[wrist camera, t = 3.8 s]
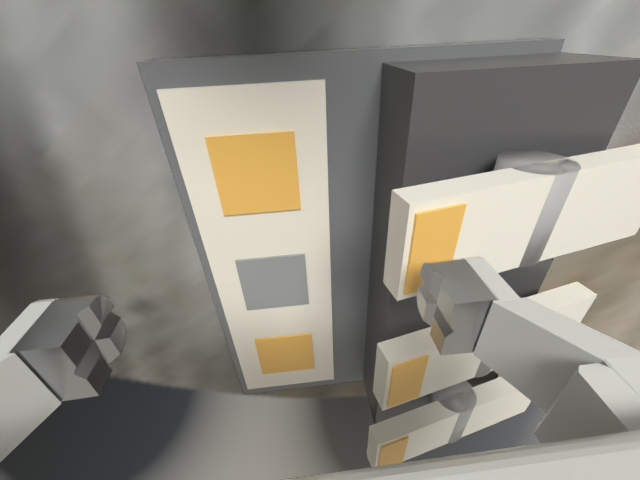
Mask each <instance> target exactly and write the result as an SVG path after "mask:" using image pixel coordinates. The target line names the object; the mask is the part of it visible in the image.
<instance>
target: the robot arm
mask: <svg viewBox="0 0 640 480" xmlns="http://www.w3.org/2000/svg"><path fill="white" fill-rule="evenodd" d="M420 275H421V277H422V279H423V282H422V283H421V284H420V285H419V286H418V289H417V306H418V309H419V312H420V315H421V317H422V319H423V321H424V322H426V323H427V324H429V325H430V326H432V327H431V331H430V336H431V338H432V339H433V341H434V343H435V345H436V347H437V349H438V351H439V353H440V355H451V354H462V353H473V352H474V353H473V354H474V355H475V356H476V357H477V358H478V359H480V360H481V361H482V362H483V363H485V364H486V365H487V366H488V367H490V368H491V369H492V370H493V371H495V372H496V373H497V374H498V375H500V376H501V377H502V378H503V379H505V380H506V381H507V382H508V383H510V384H511V385H512V386H513V387H515V388H516V389H517V390H518V391H520V392H521V393H522V394H523V395H525V396H526V397H527V398H528V399H529V400H531V401H532V402H533V403H534V404H536V405H537V406H538V407H539V408H541V409H542V410H543V411H545V412H546V414H545V415H544V417H543V418H542V420H541V421H540V423H539V424H538V426H537V427H536V430H535V433H534V434H535V435H536V437H537V438H538V440H539V442H540V443H541V444H534V445H527V446H520V447H512V448H506V449H498V450H491V451H485V452H477V453H469V454H462V455H455V456H448V457H441V458H434V459H426V460H419V461H411V462H404V463H397V464H390V465H383V466H375V467H368V468H361V469H354V470H346V471H339V472H332V473H325V474H318V475H310V476H303V477H296V478H289V479H282V480H640V351H638V350H636V349H634V348H632V347H630V346H628V345H626V344H624V343H622V342H619V341H617V340H615V339H613V338H611V337H609V336H607V335H605V334H603V333H600V332H598V331H596V330H594V329H592V328H590V327H588V326H586V325H584V324H581V323H579V322H577V321H575V320H573V319H571V318H569V317H567V316H565V315H563V314H560V313H558V312H556V311H554V310H552V309H550V308H548V307H546V306H544V305H541V304H539V303H537V302H535V301H533V300H531V299H529V298H527V297H525V298H520V297H519V296H518V295H517V294H516V293H515V292H514V290H513V289H512V288H511V287H510V286H509V285H508V284H507V283H506V282H505V280H504V279H503V278H502V277H501V276H500V275H499V274H498V273H497V272H496V271H495V269H494V268H493V267H492V266H491V265H490V264H489V263H488V262H487V261H486V259H484V258H483V257H480V256H476V257H468V258H461V259H454V260H444V261H435V262H426V263H424V264H423V265H422V267H421V272H420ZM113 306H114V305H113V304H112V302H111V301H110V299H109V298H108V296H105V295H90V296H77V297H64V298H56V299H43V300H38V301H35V302H33V303H31V304H30V305H29V306H28V307H27V308H26V309H25V310H24V311H23V312H22V313H21V314H20V315H19V316H18V317H17V319H16V320H15V321H14V322H13V323H12V324H11V325H10V326H9V327H8V328H7V329H6V330H5V331H4V332H3V334H2V335H1V336H0V462H1V461H2V460H3V459H4V458H5V457H6V456H7V455H8V454H9V453H10V452H11V451H13V449H14V448H16V447H17V446H18V445H19V444H20V443H21V442H22V441H23V440H24V439H25V438H26V437H27V436H28V435H29V434H30V433H31V432H32V431H33V430H34V429H35V428H37V427H38V426H39V425H40V424H41V423H42V422H43V421H44V420H45V419H46V418H47V417H48V416H49V415H50V414H51V413H52V412H53V411H54V410H55V409H56V408H57V407H58V406H59V405H60V404H61V401H66V400H74V399H80V398H87V397H95V396H99V395H100V394H101V392H102V390H103V388H104V386H105V384H106V382H107V380H108V378H109V376H110V374H111V372H112V368H111V365H110V363H111V362H112V361H113V360H114V359H115V358H117V357H118V356H119V355H120V354H121V352H122V350H123V347H124V345H125V340H126V329H125V324H124V323H123V321H122V319H121V318H120V317H118V316H117V315H115V314H113V313H111V311H112V309H113Z"/></svg>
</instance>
